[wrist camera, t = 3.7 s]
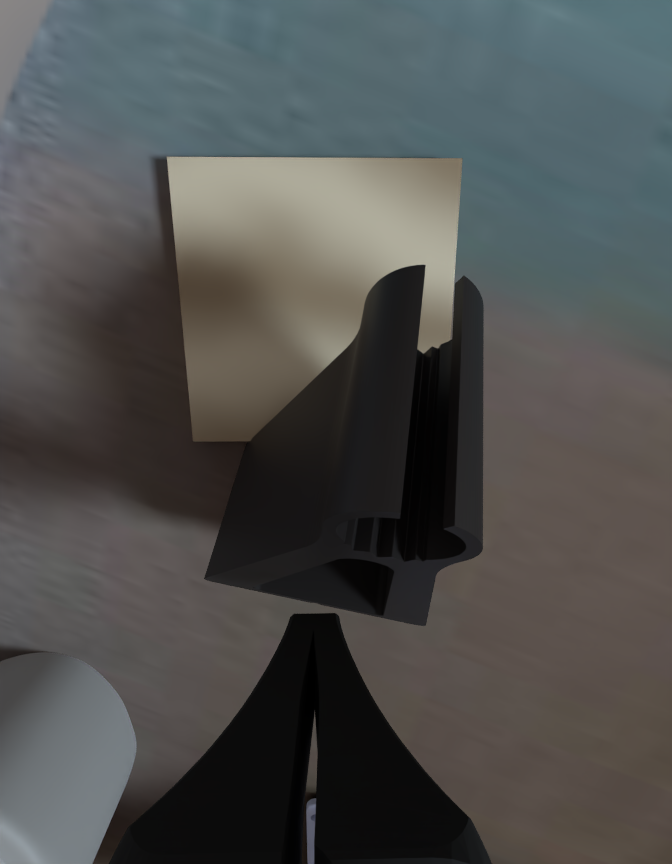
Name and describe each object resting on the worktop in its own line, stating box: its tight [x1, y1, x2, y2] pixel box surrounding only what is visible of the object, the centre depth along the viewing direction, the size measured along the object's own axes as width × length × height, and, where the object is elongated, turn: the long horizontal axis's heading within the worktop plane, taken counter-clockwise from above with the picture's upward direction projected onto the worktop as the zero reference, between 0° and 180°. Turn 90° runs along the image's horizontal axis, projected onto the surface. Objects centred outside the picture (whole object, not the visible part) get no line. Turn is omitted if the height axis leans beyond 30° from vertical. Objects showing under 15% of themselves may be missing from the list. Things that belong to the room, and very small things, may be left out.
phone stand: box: [204, 265, 483, 626], centre depth 14 cm, size 9×6×12 cm
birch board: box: [167, 157, 462, 442], centre depth 18 cm, size 11×11×1 cm
